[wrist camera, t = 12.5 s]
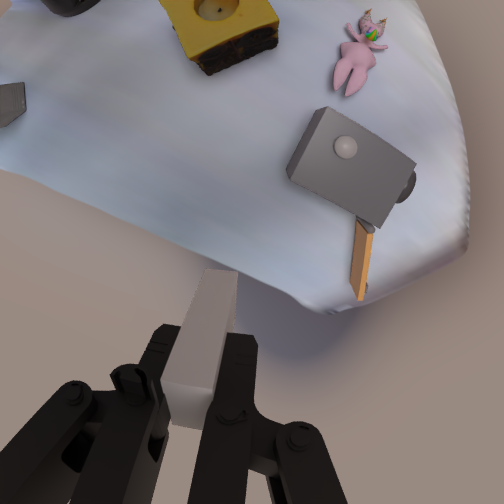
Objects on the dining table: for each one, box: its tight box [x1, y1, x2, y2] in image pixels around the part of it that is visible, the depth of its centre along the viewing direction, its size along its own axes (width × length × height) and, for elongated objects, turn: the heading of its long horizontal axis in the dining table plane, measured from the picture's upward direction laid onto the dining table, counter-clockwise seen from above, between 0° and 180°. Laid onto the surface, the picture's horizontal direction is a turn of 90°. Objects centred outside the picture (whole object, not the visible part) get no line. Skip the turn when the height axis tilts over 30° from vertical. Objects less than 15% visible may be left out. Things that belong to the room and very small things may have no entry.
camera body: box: [286, 106, 417, 229], centre depth 31 cm, size 14×9×9 cm, turn 66°
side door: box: [350, 215, 375, 301], centre depth 37 cm, size 11×2×5 cm, turn 3°
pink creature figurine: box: [333, 9, 388, 96], centre depth 25 cm, size 6×6×15 cm
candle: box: [159, 0, 279, 76], centre depth 24 cm, size 10×10×10 cm
